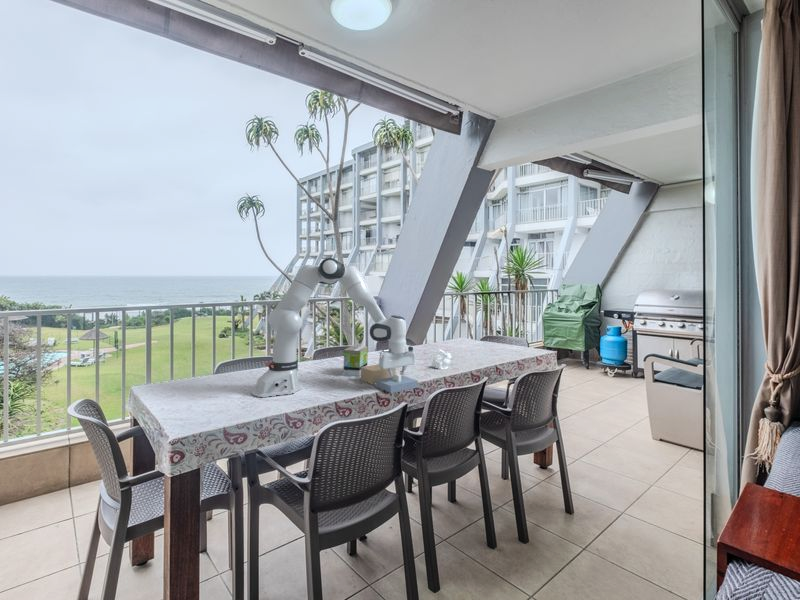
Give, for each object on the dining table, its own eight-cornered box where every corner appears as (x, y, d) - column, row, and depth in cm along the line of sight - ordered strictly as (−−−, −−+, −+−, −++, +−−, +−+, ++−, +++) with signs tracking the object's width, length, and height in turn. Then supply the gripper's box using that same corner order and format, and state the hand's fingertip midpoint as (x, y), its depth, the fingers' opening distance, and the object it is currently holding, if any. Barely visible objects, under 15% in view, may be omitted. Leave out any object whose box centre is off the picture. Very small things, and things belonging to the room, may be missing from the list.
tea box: (360, 376, 217) (360, 350, 217) (342, 375, 219) (342, 349, 219) (367, 370, 232) (367, 345, 231) (351, 369, 234) (351, 345, 233)
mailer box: (371, 384, 202) (372, 371, 202) (360, 379, 211) (360, 367, 211) (395, 380, 211) (395, 367, 211) (383, 375, 220) (383, 363, 220)
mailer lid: (390, 393, 187) (390, 379, 187) (375, 387, 198) (375, 374, 197) (417, 387, 198) (418, 374, 197) (402, 381, 208) (402, 369, 207)
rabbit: (452, 368, 241) (452, 348, 240) (447, 371, 232) (448, 351, 232) (433, 366, 246) (433, 347, 245) (428, 369, 237) (428, 349, 236)
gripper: (383, 351, 188) (383, 380, 188) (416, 347, 200) (416, 374, 201) (376, 349, 193) (376, 377, 193) (409, 345, 205) (408, 371, 206)
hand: (397, 375), depth 197 cm, fingers open, 5 cm apart
